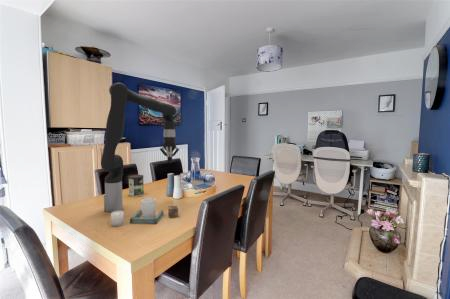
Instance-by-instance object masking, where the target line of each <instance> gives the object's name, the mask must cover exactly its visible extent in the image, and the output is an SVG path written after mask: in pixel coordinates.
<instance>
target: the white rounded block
mask: <svg viewBox="0 0 450 299" xmlns="http://www.w3.org/2000/svg"><path fill="white" fill-rule="evenodd" d="M124 224H125V212H124V210H119V211H114V212H110V225H111V227H120V226H123V225H124Z"/></svg>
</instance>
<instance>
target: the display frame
mask: <svg viewBox="0 0 450 299" xmlns="http://www.w3.org/2000/svg"><path fill="white" fill-rule="evenodd" d="M164 214H165V213H164V210H163V209H161V210H160V211H159V212H158V213H157V214H156V215H155V218H143V217H141V216H142V209H139V210H137V211H136V212H135V213H134V214H133V215H132V216H131V217H130V218H129V224H144V225H145V224H153V225H156V224H158V223H159V222H160V220H161V219H162V217H163V216H164Z"/></svg>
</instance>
